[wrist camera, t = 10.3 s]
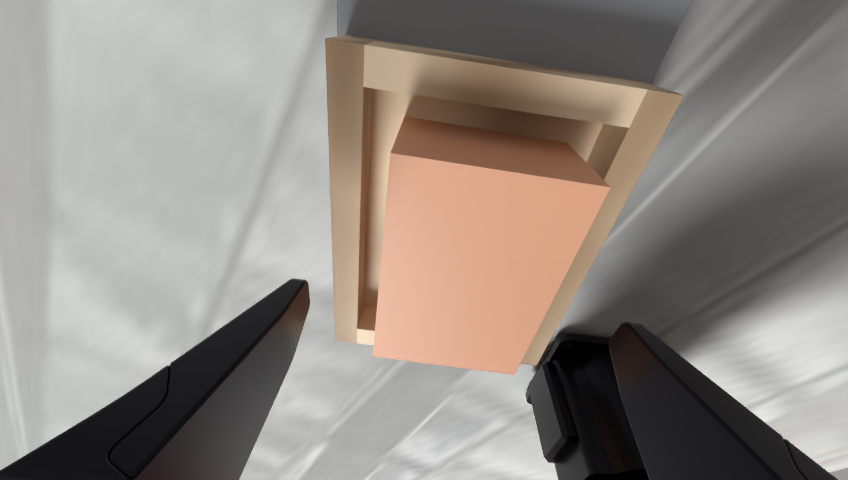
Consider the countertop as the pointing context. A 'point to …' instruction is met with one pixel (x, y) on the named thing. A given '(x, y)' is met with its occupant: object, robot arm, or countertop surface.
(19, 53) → the countertop surface
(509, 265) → the card deck block
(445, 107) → the tray
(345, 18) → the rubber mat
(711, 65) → the countertop surface
